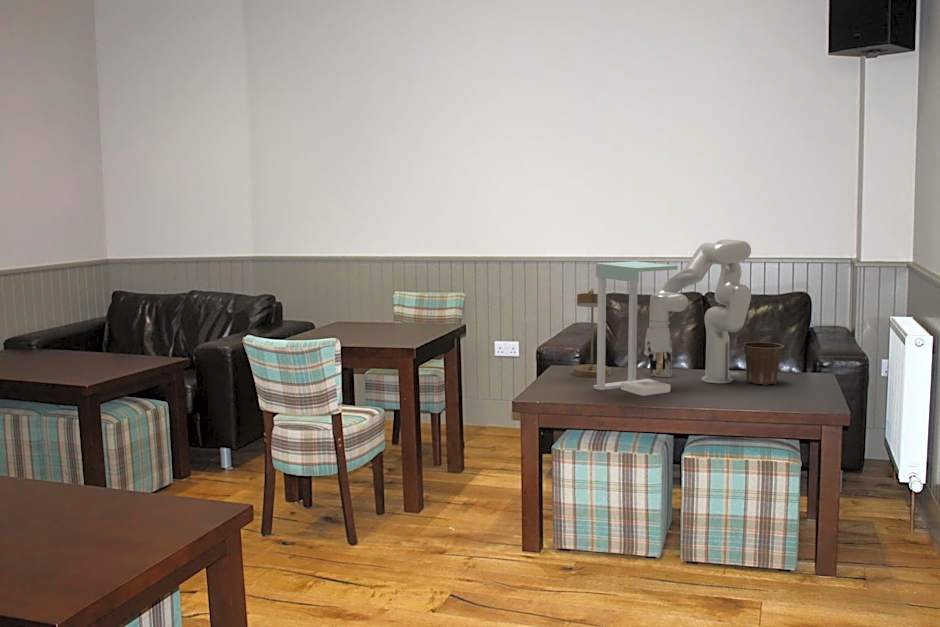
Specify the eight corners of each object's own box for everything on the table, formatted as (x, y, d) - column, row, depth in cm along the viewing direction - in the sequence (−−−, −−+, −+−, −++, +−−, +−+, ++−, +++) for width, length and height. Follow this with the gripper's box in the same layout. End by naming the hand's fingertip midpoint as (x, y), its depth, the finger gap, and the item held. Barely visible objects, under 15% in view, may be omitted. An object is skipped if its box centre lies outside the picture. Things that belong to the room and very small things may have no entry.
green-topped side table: (631, 383, 409) (633, 261, 402) (674, 394, 386) (677, 265, 379) (593, 388, 400) (594, 263, 393) (634, 400, 376) (636, 268, 369)
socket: (647, 385, 403) (647, 378, 403) (670, 392, 391) (670, 384, 391) (620, 389, 396) (621, 382, 396) (642, 395, 384) (642, 388, 384)
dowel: (661, 373, 398) (661, 349, 397) (663, 375, 394) (664, 350, 393) (651, 373, 398) (652, 349, 396) (653, 375, 394) (654, 350, 393)
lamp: (567, 381, 414) (568, 292, 409) (573, 369, 440) (573, 286, 435) (608, 382, 410) (609, 293, 405) (611, 370, 437) (612, 286, 432)
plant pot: (777, 378, 416) (779, 341, 413) (786, 386, 400) (787, 348, 397) (738, 378, 417) (739, 341, 415) (745, 386, 401) (746, 347, 399)
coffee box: (672, 374, 426) (673, 338, 424) (671, 377, 420) (671, 340, 418) (651, 373, 429) (651, 337, 427) (649, 376, 423) (650, 340, 421)
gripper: (668, 322, 400) (667, 365, 403) (636, 324, 392) (635, 369, 395) (680, 324, 394) (679, 368, 396) (648, 327, 386) (647, 372, 388)
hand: (657, 368), depth 396 cm, fingers closed on dowel, 4 cm apart
